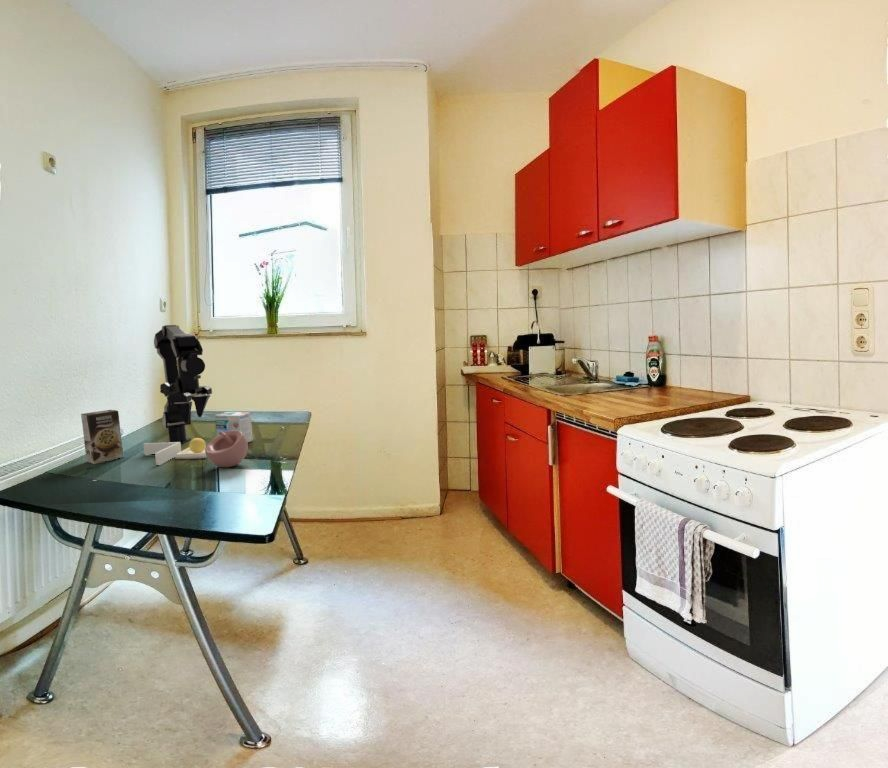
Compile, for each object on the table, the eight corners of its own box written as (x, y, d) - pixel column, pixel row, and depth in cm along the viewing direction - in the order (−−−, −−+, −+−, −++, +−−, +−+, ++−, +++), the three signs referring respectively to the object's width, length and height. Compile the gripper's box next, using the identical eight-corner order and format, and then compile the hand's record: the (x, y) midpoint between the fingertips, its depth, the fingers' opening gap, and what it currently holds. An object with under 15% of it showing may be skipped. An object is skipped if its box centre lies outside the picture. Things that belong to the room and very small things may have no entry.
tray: (190, 451, 179) (190, 446, 179) (219, 450, 179) (219, 445, 179) (175, 459, 169) (175, 454, 169) (206, 458, 169) (205, 453, 169)
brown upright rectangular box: (93, 464, 167) (87, 415, 165) (86, 461, 171) (79, 413, 169) (124, 457, 174) (118, 410, 172) (116, 455, 178) (110, 408, 176)
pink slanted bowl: (198, 470, 156) (194, 432, 154) (231, 459, 166) (227, 424, 165) (225, 474, 150) (221, 435, 149) (258, 463, 161) (254, 426, 159)
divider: (146, 454, 177) (144, 443, 176) (182, 453, 177) (181, 441, 176) (119, 467, 163) (117, 454, 162) (158, 465, 162) (157, 453, 162)
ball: (194, 451, 177) (192, 436, 176) (208, 450, 177) (207, 436, 176) (186, 454, 172) (185, 440, 171) (201, 454, 172) (200, 439, 171)
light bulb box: (216, 444, 188) (213, 414, 187) (229, 439, 195) (226, 411, 193) (241, 445, 185) (238, 415, 184) (253, 440, 192) (251, 411, 190)
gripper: (178, 371, 180) (183, 415, 182) (147, 377, 162) (153, 426, 164) (210, 369, 180) (214, 414, 182) (183, 376, 162) (188, 425, 164)
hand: (193, 419), depth 173 cm, fingers open, 9 cm apart
